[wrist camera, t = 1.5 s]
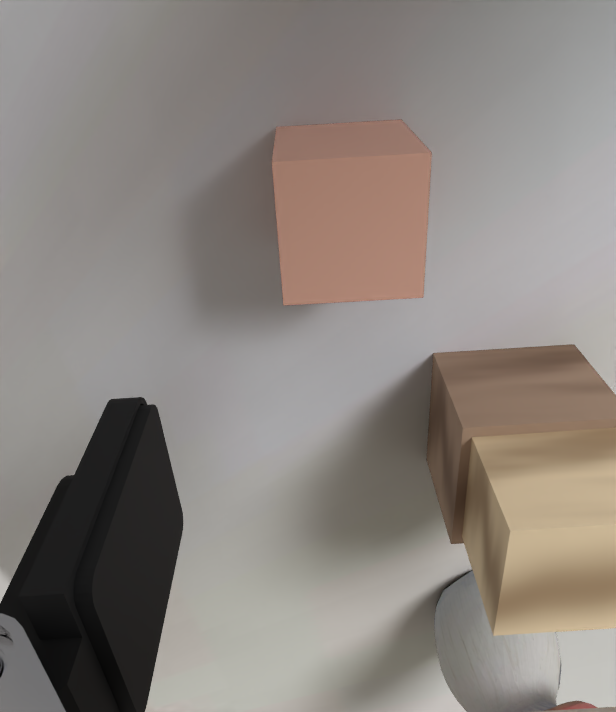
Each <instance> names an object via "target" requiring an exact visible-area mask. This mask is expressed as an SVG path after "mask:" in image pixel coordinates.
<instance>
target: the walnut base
mask: <svg viewBox="0 0 616 712" xmlns="http://www.w3.org/2000/svg"><path fill="white" fill-rule="evenodd" d="M615 427H616V395H615V394H614V393H613V391H612V390H611V389H610V388H609V386H608V385H607V384H606V383H605V382H604V380H603V379H602V378H601V377H600V375H599V374H598V373H597V372H596V371H595V369H594V368H593V367H592V366H591V364H590V363H589V362H588V361H587V360H586V358H585V357H584V356H583V355H582V353H581V352H580V351H579V350H578V349H577V347H576V346H575V345H557V346H541V347H525V348H509V349H493V350H477V351H460V352H444V353H433V365H432V381H431V397H430V412H429V428H428V444H427V463H428V466H429V470H430V473H431V477H432V480H433V484H434V487H435V490H436V494H437V497H438V501H439V504H440V508H441V511H442V514H443V518H444V521H445V525H446V528H447V532H448V535H449V539H450V542H451V544H458V543H464V541H463V538H462V531H463V521H464V511H465V501H466V491H467V481H468V471H469V461H470V451H471V441H472V437H484V436H499V435H513V434H528V433H543V432H557V431H572V430H586V429H601V428H615Z"/></svg>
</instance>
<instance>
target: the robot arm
mask: <svg viewBox="0 0 616 712" xmlns="http://www.w3.org/2000/svg"><path fill="white" fill-rule="evenodd" d="M182 531H183V513H182V508H181V504H180V500H179V496H178V492H177V488H176V483H175V479H174V475H173V471H172V467H171V463H170V459H169V454H168V450H167V446H166V442H165V438H164V434H163V429H162V425H161V421H160V417H159V413H158V409H157V407H156V405H147V403H146V401H145V399H144V398H142V397H138V398H122V399H111V400H109V402H108V403H107V405H106V407H105V410H104V412H103V414H102V416H101V418H100V420H99V423H98V425H97V427H96V429H95V431H94V433H93V436H92V438H91V440H90V442H89V444H88V446H87V449H86V451H85V453H84V455H83V457H82V459H81V462H80V464H79V466H78V468H77V470H76V472H75V475H71V476H66V477H64V478H63V479H62V480H61V481H60V483H59V484H58V486H57V488H56V490H55V492H54V494H53V496H52V498H51V500H50V502H49V504H48V506H47V508H46V510H45V512H44V514H43V517H42V519H41V521H40V523H39V525H38V527H37V529H36V531H35V533H34V535H33V537H32V539H31V541H30V543H29V545H28V547H27V549H26V552H25V554H24V556H23V558H22V560H21V562H20V564H19V566H18V568H17V570H16V572H15V574H14V576H13V578H12V580H11V582H10V585H9V587H8V589H7V591H6V593H5V595H4V597H3V599H2V601H1V603H0V712H145V709H146V705H147V701H148V696H149V691H150V686H151V681H152V676H153V672H154V667H155V662H156V657H157V652H158V647H159V643H160V638H161V633H162V628H163V623H164V618H165V614H166V609H167V604H168V599H169V594H170V589H171V585H172V580H173V575H174V570H175V565H176V560H177V555H178V551H179V546H180V541H181V536H182ZM534 712H616V707H605V708H587V709H569V710H552V711H534Z"/></svg>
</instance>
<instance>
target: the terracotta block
mask: <svg viewBox="0 0 616 712" xmlns="http://www.w3.org/2000/svg"><path fill="white" fill-rule="evenodd" d="M431 156H432V152H431V151H430V150H429V149H428V148H427V147H426V146H425V145H424V144H423V143H422V142H421V140H420V139H419V138H418V137H417V136H416V135H415V134H414V133H413V132H412V131H411V130H410V128H409V127H408V126H407V125H406V124H405V123H404V122H403V121H402V120H384V121H367V122H350V123H333V124H315V125H298V126H281V127H276V133H275V140H274V148H273V156H272V172H273V184H274V196H275V209H276V221H277V233H278V245H279V258H280V270H281V282H282V294H283V305H301V304H318V303H336V302H354V301H372V300H390V299H407V298H423V294H424V277H425V260H426V243H427V225H428V208H429V191H430V173H431Z"/></svg>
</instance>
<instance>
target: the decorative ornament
mask: <svg viewBox="0 0 616 712" xmlns="http://www.w3.org/2000/svg"><path fill="white" fill-rule="evenodd" d="M434 628H435V640H436V647H437V653H438V658H439V662H440V666H441V670H442V673H443V675H444V678H445V680H446V682H447V685H448V686H449V688H450V690H451V692H452V693H453V695H454V697H455V698H456V699H457V701H458V702H459V703H460V704H461V706H462V707H463V708H464V709H465V710H466V711H467V712H534V711H552V710H569V709H587V708H597V707H595V706H594V705H592V704H589V703H585V702H582V701H572V702H567V703H564V704H561V705H558V706H557V705H556V697H557V692H558V689H559V684H560V676H561V658H560V651H559V645H558V639H557V634H556V632H545V633H529V634H514V635H498V636H493V633H492V630H491V627H490V624H489V620H488V617H487V614H486V611H485V608H484V605H483V601H482V598H481V595H480V592H479V589H478V586H477V582H476V579H475V576H474V573H473V571H470V572H469V573H468V574H466V575H465V576H463V577H462V578H460V579H459V580H457V581H456V582H454V583H453V584H452V585H450V586H449V587H447V588H446V589H445V590H443V592H442V595H441V597H440V599H439V601H438V604H437V607H436V612H435V618H434Z"/></svg>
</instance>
